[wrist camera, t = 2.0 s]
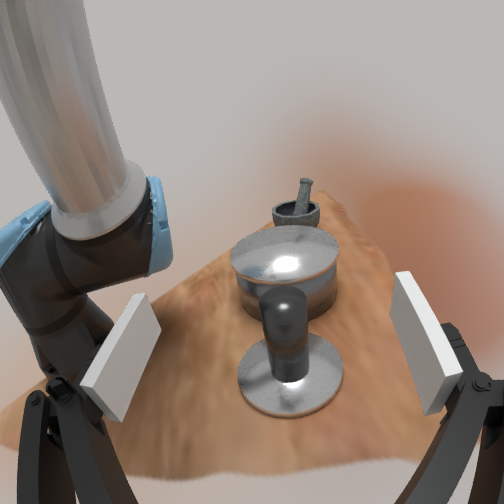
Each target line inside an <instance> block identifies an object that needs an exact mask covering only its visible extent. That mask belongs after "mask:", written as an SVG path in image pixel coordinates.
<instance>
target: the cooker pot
mask: <svg viewBox="0 0 504 504" xmlns="http://www.w3.org/2000/svg"><path fill="white" fill-rule="evenodd" d="M337 258H338V243H337V241H336V239H335V238H334V237H333V236H332V235H331V234H329V233H328V232H326V231H324V230H321V229H318V228H315V227H310V226H302V225H285V226H277V227H272V228H267V229H264V230H260V231H258V232H255V233H253V234H250V235H248V236H247V237H245V238H243V239H242V240H240V241H239V242H238V243H237V244H236V245H235V246H234V248H233V249H232V251H231V254H230V259H231V264H232V267H233V269H234V271H235V273H236V277H237V282H238V286H239V291H240V296H241V300H242V304H243V307H244V309H245V310H246V311H247V313H248V314H250V315H251V316H252V317H254V318H255V319H257V320H260V321H262V320H261V314H260V308H259V299H260V297H261V296H262V295H263V294H264V293H265V292H266V291H268V290H270V289H272V288H275V287H279V286H292V287H296V288H298V289H300V290H302V291H303V292H304V293H305V295H306V298H307V316H308V321H310V320H312V319H315V318H316V317H318V316H320V315H322V314H323V313H324V312H326V311H327V310H328V309H329V308H330V307H331V305H332V304H333V302H334V300H335V298H336V261H337Z"/></svg>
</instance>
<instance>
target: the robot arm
mask: <svg viewBox="0 0 504 504" xmlns="http://www.w3.org/2000/svg"><path fill="white" fill-rule="evenodd" d="M0 99H1V101H2V104H3V106H4V109H5V111H6V113H7V115H8V117H9V119H10V122H11V124H12V126H13V128H14V130H15V132H16V134H17V136H18V138H19V140H20V142H21V144H22V146H23V148H24V150H25V152H26V154H27V156H28V158H29V160H30V161H31V163H32V165H33V167H34V169H35V170H36V172H37V174H38V176H39V177H40V179H41V181H42V183H43V184H44V186H45V187H46V189H47V191H48V193H49V194H50V196H51V197H52V199H53V201H54V202H53V205H51V204H50V203H49V201H47V200H46V201H43V202H41V203H38V204H37V205H35V206H33V207H32V208H30V209H28V210H27V211H25V212H24V213H22V214H21V215H19V216H18V217H16V218H15V219H14V220H12V221H11V222H10V223H8V224H7V225H6V226H4V227H3V228H2V229H1V230H0V288H1V290H2V291H3V293H4V295H5V297H6V299H7V300H8V302H9V304H10V306H11V307H12V309H13V311H14V312H15V314H16V316H17V317H18V319H19V320H20V322H21V323H22V325H23V327H24V328H25V330H26V331H27V333H28V334H29V337H30V340H31V343H32V346H33V349H34V352H35V355H36V358H37V361H38V364H39V366H40V368H41V370H42V371H43V373H44V374H45V375H46V377H47V378H48V379H49V382H48V383H47V385H46V392H47V393H48V394H49V395H50V396H48V397H47V396H46V395H45V394H44V393H43V392H42V391H41V390H36V391H33V392H32V393H31V394H29V396H28V397H27V400H26V403H25V409H24V415H23V421H22V428H21V436H20V445H19V456H18V457H19V458H18V472H17V504H76V496H75V491H76V494H77V497H78V500H79V503H80V504H138V502H137V500H136V498H135V496H134V494H133V492H132V490H131V487H130V485H129V483H128V481H127V479H126V477H125V474H124V472H123V470H122V468H121V465H120V463H119V460H118V458H117V456H116V453H115V450H114V448H113V445H112V443H111V440H110V437H109V435H108V432H107V429H106V426H105V423H104V421H103V420H102V415H103V413H104V414H105V416H106V417H107V418H108V419H109V420H112V421H117V422H123V419H124V417H125V414H126V412H127V409H128V407H129V405H130V402H131V400H132V397H133V395H134V392H135V390H136V388H137V385H138V383H139V381H140V378H141V376H142V374H143V371H144V369H145V367H146V364H147V362H148V360H149V357H150V355H151V353H152V351H153V348H154V346H155V344H156V342H157V339H158V337H159V335H160V333H161V331H162V330H161V328H160V325H159V323H158V321H157V319H156V316H155V314H154V312H153V309H152V307H151V305H150V302H149V300H148V297H147V295H146V293H140V294H134V295H133V297H132V298H131V300H130V301H129V303H128V304H127V306H126V308H125V309H124V311H123V312H122V314H121V315H120V317H119V319H118V320H117V322H116V323H115V325H114V323H113V321H112V320H111V319H110V317H108V316H107V315H106V314H105V313H104V312H103V311H102V310H101V309H100V308H99V307H98V306H97V305H96V304H95V303H94V302H93V301H92V300H91V299H90V298H89V297H88V295H87V293H88V292H91V291H95V290H98V289H102V288H105V287H109V286H113V285H116V284H120V283H124V282H127V281H131V280H135V279H138V278H142V277H148V276H150V275H151V274H153V273H156V272H159V271H162V270H164V269H166V268H168V267H169V266H170V264H171V262H172V260H173V250H172V242H171V236H170V230H169V225H168V219H167V211H166V205H165V200H164V194H163V189H162V185H161V181H160V179H159V178H158V177H155V176H154V177H151V176H148V177H145V174H144V172H143V170H142V169H141V167H140V166H139V165H138V164H136V163H135V162H133V161H130V160H127V159H124V156H123V153H122V151H121V147H120V144H119V141H118V139H117V135H116V132H115V129H114V126H113V122H112V119H111V116H110V112H109V109H108V106H107V102H106V99H105V95H104V92H103V88H102V84H101V80H100V77H99V73H98V69H97V65H96V61H95V56H94V52H93V48H92V43H91V39H90V34H89V29H88V25H87V20H86V14H85V9H84V3H83V0H0ZM390 317H391V319H392V322H393V324H394V327H395V330H396V332H397V335H398V337H399V340H400V343H401V345H402V348H403V351H404V354H405V356H406V359H407V362H408V365H409V368H410V371H411V374H412V377H413V380H414V383H415V386H416V389H417V392H418V395H419V399H420V402H421V405H422V409H423V412H424V416H427V415H431V414H434V413H438V412H441V410H442V408H443V407H444V405H445V406H446V409H447V413H446V415H445V416H444V418H443V419H442V421H441V422H440V424H441V425H440V427H439V429H438V431H437V433H436V435H435V437H434V439H433V441H432V443H431V445H430V447H429V449H428V451H427V452H426V454H425V456H424V458H423V460H422V461H421V463H420V465H419V466H418V468H417V470H416V472H415V473H414V475H413V476H412V478H411V480H410V481H409V483H408V484H407V486H406V487H405V489H404V490H403V492H402V493H401V495H400V496H399V498H398V499H397V500H396V502H395V504H447V503H448V501H449V499H450V497H451V496H452V494H453V492H454V490H455V488H456V486H457V484H458V482H459V480H460V478H461V476H462V474H463V472H464V470H465V467H466V465H467V463H468V461H469V459H470V456H471V454H472V452H473V449H474V447H475V444H476V442H477V439H478V437H479V434H480V431H481V428H482V426H483V428H482V436H481V444H480V450H479V456H478V462H477V467H476V472H475V477H474V481H473V486H472V489H471V493H470V497H469V501H468V504H504V380H492V379H491V377H490V376H489V375H487V374H486V373H484V372H480V371H479V369H478V367H477V365H476V363H475V361H474V359H473V357H472V355H471V353H470V351H469V349H468V348H467V346H466V344H465V342H464V340H463V339H462V336H461V335H460V333H459V331H458V329H457V328H455V327H454V326H453V325H452V324H451V323H444V324H439V322H438V320H437V318H436V317H435V315H434V313H433V311H432V309H431V308H430V306H429V304H428V302H427V300H426V299H425V297H424V295H423V294H422V292H421V290H420V288H419V287H418V285H417V283H416V282H415V280H414V279H413V277H412V275H411V274H410V272H409V271H405V272H397V273H395V280H394V288H393V296H392V302H391V309H390ZM47 429H49V434H48V433H47Z"/></svg>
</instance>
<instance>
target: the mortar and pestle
mask: <svg viewBox="0 0 504 504" xmlns="http://www.w3.org/2000/svg"><path fill="white" fill-rule="evenodd" d="M312 184H313V181H312V180H310V179H307V178H301V179H300V189H299V193H298V197H297V200H293V201H288V202H283V203H280V204H279V205H277V206H275V207H273V209H272V215H273V221H274V224H275V227H277V226H285V225H302V226H310V227H315V228H316V227H317V225H318V223H319V219H320V209H319V206H318V203H315V202H312V201H309V200H310V191H311V185H312Z"/></svg>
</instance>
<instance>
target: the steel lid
mask: <svg viewBox="0 0 504 504" xmlns="http://www.w3.org/2000/svg"><path fill="white" fill-rule="evenodd" d="M259 308H260V314H261V320H262V325H263V331H264V336H265V339H262V340H261V341H259V342H257V343H256V344H255V345H253V346H252V347H251V348H250V349H249V350H248V351H247V352H246V353H245V355H244V356H243V358H242V360H241V362H240V364H239V368H238V381H239V385H240V388H241V391H242V394H243V396H244V397H245V399H246V401H247V402H248V403H249V404H250V405H251V406H252V407H254V408H255V409H256V410H258V411H260V412H261V413H264V414H266V415H269V416H272V417H277V418H298V417H303V416H306V415H310V414H312V413H314V412H316V411H318V410H320V409H322V408H323V407H324V406H326V405H327V404H328V403H329V402H330V401H331V400H332V399H333V398H334V397H335V395H336V394H337V392H338V390H339V388H340V385H341V381H342V374H343V363H342V359H341V356H340V354H339V352H338V351H337V349H336V348H335V347H334V346H333V345H332V344H331V343H330V342H328V341H327V340H325V339H324V338H322V337H319V336H317V335H314V334H311V333H308V316H307V298H306V295H305V293H304V292H303V291H302V290H300V289H298V288H296V287H292V286H279V287H275V288H272V289H270V290H268V291H266V292H265V293H264V294H263V295H262V296H261V297H260V299H259Z"/></svg>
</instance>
